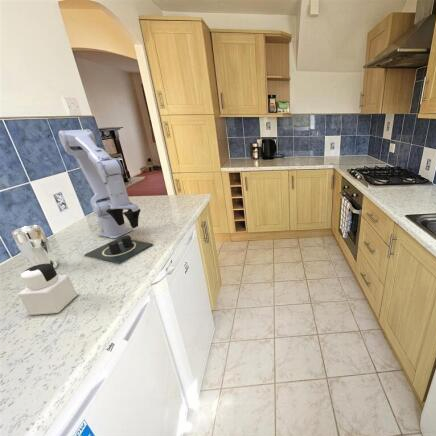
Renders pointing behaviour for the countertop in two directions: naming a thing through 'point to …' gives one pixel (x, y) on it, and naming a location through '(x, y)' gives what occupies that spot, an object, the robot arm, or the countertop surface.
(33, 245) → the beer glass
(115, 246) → the eye stopper
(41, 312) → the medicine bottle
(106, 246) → the slate board
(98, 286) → the countertop surface
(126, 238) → the eye stopper
